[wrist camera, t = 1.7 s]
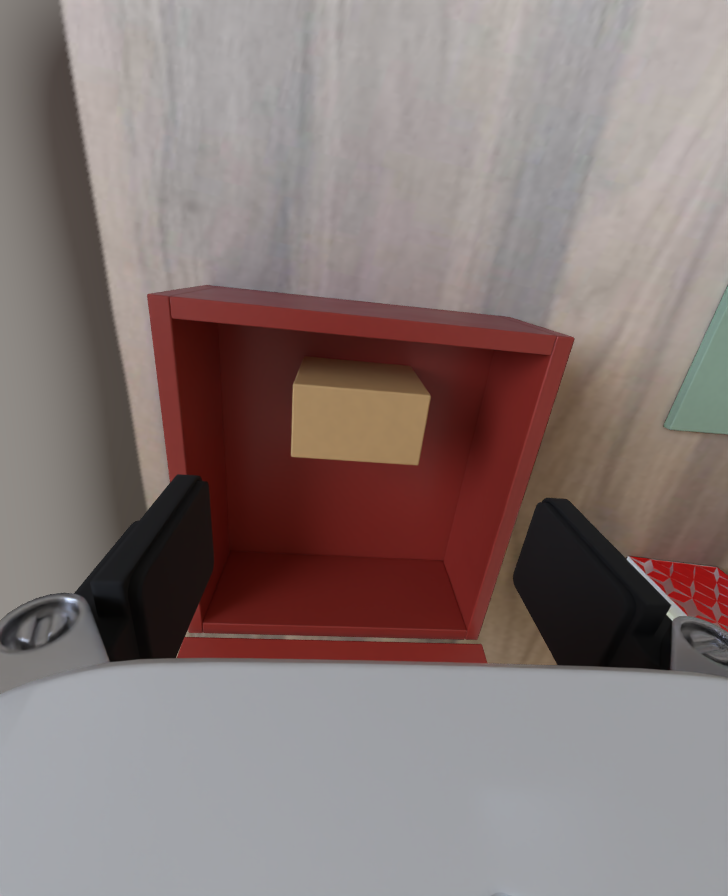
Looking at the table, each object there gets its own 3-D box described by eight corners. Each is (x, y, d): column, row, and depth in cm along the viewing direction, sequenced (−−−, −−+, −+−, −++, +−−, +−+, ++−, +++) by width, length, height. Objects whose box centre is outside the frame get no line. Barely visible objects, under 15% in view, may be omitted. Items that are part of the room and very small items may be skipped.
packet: (303, 355, 21) (292, 383, 16) (411, 365, 22) (431, 395, 17) (301, 415, 23) (290, 457, 18) (402, 423, 23) (418, 466, 18)
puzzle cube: (628, 555, 30) (717, 647, 23) (716, 566, 31) (829, 657, 24) (584, 628, 33) (651, 728, 26) (666, 636, 34) (752, 734, 27)
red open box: (205, 284, 20) (146, 293, 14) (509, 317, 22) (576, 337, 16) (221, 551, 28) (188, 633, 22) (449, 561, 29) (477, 640, 23)
